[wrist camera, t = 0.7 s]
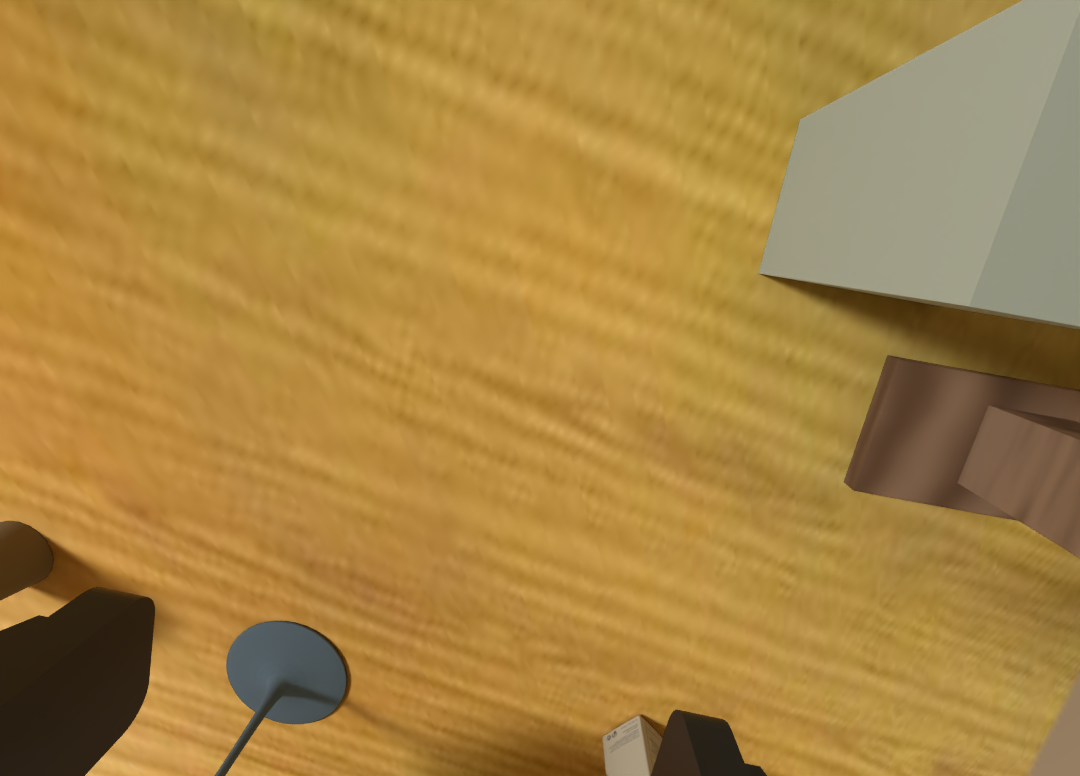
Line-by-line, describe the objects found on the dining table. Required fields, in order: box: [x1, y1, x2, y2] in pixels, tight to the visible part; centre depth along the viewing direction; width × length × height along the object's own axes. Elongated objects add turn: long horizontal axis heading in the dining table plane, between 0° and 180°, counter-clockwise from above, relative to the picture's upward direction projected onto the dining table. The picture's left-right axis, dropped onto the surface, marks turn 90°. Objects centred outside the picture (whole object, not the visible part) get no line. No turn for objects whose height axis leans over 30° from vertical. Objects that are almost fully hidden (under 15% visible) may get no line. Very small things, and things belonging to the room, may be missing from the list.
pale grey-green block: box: [759, 0, 1080, 330], centre depth 27 cm, size 13×10×21 cm
